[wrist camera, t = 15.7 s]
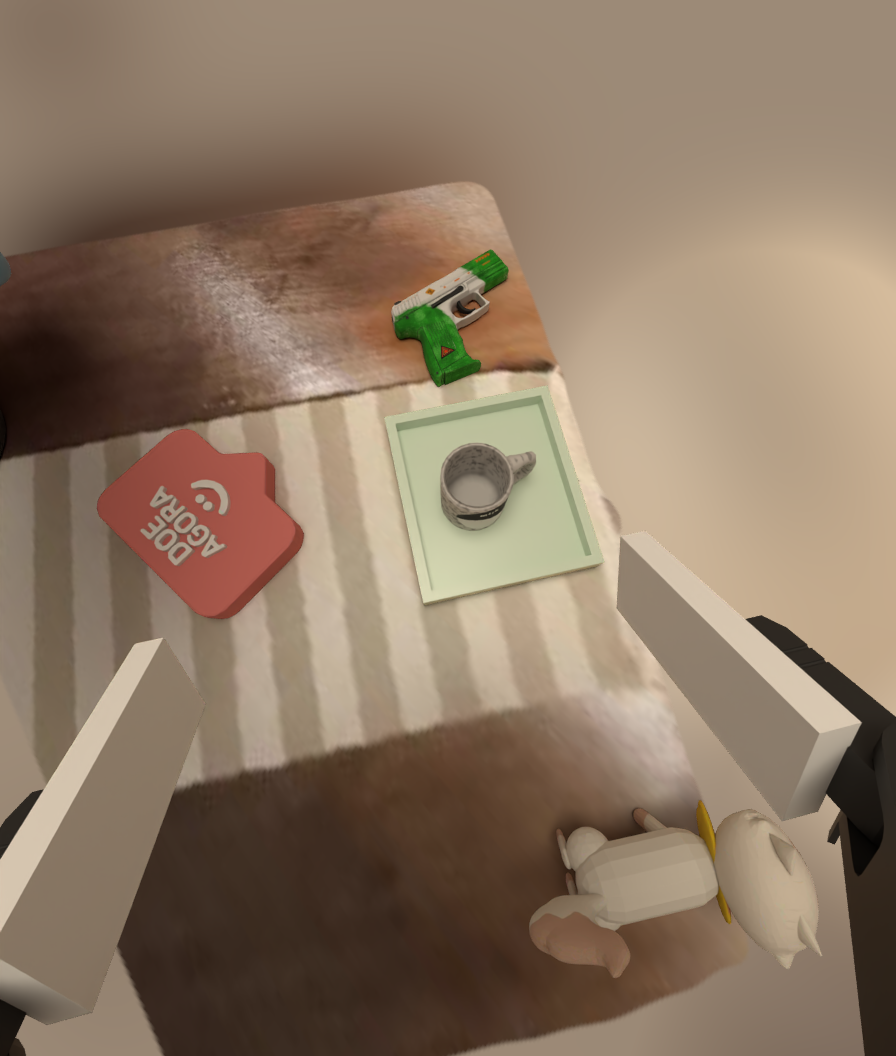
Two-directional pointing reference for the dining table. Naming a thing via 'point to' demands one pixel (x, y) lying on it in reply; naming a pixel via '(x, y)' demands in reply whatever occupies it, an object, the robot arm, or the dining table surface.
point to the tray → (529, 513)
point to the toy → (679, 887)
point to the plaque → (203, 521)
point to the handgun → (448, 316)
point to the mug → (479, 483)
